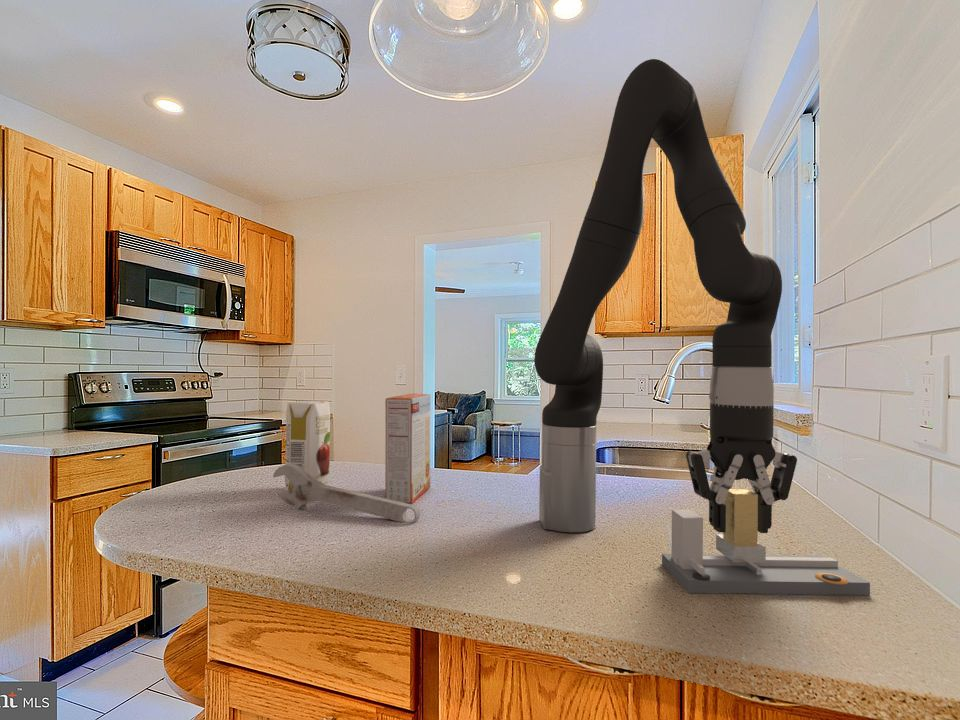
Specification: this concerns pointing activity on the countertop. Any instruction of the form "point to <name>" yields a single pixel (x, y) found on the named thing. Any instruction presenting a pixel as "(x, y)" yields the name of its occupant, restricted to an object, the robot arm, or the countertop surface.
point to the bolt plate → (731, 577)
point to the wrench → (339, 496)
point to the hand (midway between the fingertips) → (740, 530)
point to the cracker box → (407, 447)
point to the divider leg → (742, 530)
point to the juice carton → (308, 438)
